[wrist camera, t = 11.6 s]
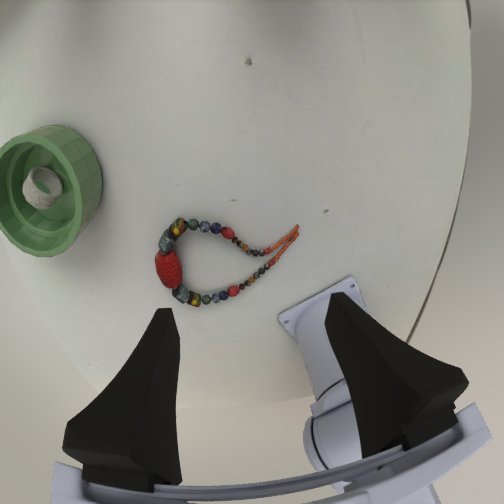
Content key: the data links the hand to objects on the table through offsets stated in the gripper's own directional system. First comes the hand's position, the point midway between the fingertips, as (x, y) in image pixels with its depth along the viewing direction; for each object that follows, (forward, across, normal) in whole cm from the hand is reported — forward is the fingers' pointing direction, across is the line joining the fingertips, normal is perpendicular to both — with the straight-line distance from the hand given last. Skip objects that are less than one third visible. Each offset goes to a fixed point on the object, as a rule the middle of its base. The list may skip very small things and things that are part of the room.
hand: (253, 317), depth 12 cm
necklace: (+10, +1, +3) cm, 10 cm away
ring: (+9, +13, -5) cm, 17 cm away
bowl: (+9, +13, -5) cm, 17 cm away
